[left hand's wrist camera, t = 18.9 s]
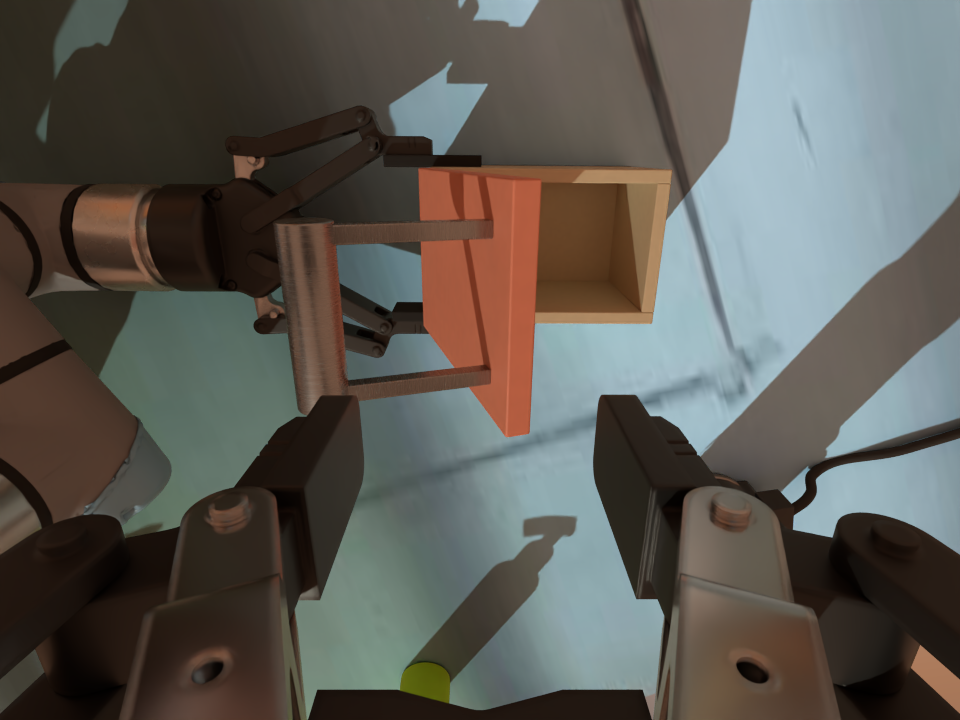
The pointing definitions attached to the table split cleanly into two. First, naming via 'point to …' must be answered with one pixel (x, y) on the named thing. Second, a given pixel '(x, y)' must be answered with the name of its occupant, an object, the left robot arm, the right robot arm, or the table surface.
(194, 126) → the table surface
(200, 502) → the left robot arm
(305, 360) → the lid
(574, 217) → the chest
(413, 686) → the soap dispenser
